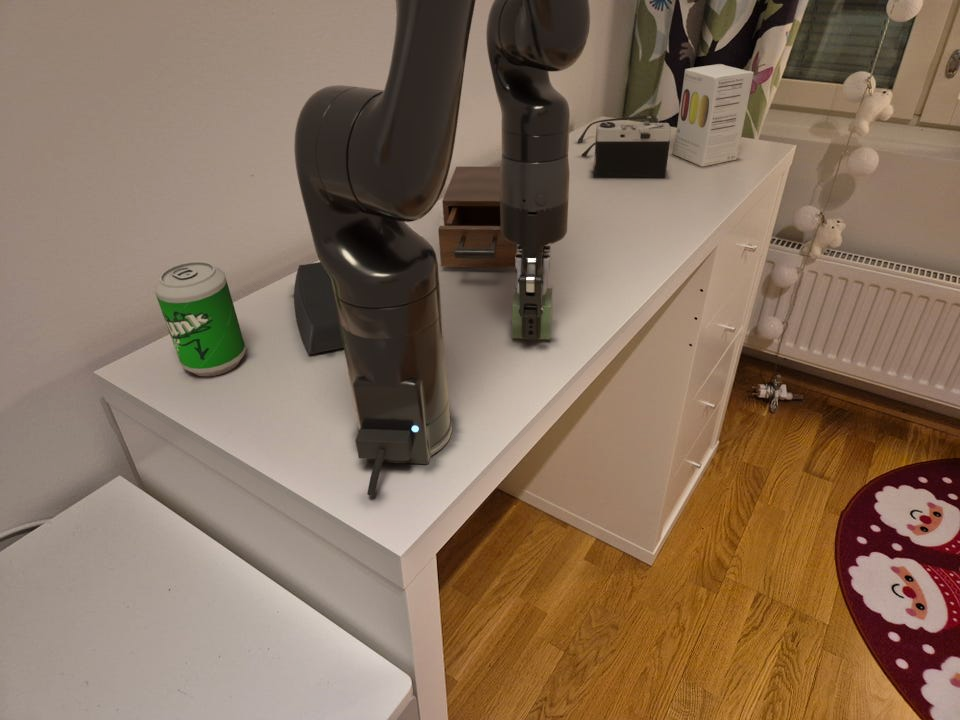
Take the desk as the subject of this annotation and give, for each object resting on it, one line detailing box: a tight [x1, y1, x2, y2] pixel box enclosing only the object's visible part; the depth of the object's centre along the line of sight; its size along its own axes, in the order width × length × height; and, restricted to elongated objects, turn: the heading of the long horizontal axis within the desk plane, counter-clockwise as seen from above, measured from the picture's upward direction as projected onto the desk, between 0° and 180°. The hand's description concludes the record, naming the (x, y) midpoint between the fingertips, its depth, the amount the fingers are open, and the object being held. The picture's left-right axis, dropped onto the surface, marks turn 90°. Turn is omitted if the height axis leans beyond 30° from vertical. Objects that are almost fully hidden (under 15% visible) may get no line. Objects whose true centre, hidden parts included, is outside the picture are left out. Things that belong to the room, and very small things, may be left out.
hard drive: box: [293, 261, 344, 355], centre depth 87 cm, size 13×19×4 cm
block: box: [511, 286, 553, 340], centre depth 80 cm, size 5×5×5 cm
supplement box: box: [672, 63, 755, 167], centre depth 130 cm, size 10×9×17 cm
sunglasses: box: [577, 114, 659, 157], centre depth 140 cm, size 16×17×5 cm
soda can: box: [153, 260, 247, 377], centre depth 76 cm, size 8×8×12 cm
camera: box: [593, 120, 672, 179], centre depth 127 cm, size 14×9×10 cm, turn 76°
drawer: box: [437, 206, 518, 268], centre depth 97 cm, size 20×12×6 cm, turn 174°
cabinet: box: [441, 166, 501, 226], centre depth 107 cm, size 16×13×8 cm
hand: (532, 326), depth 81 cm, fingers closed on block, 4 cm apart
